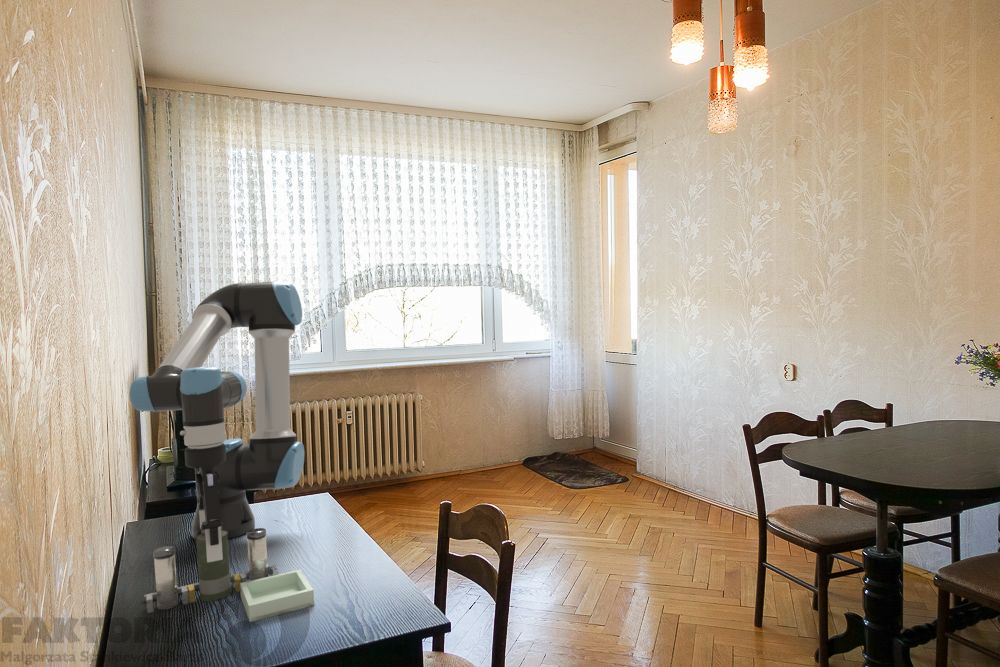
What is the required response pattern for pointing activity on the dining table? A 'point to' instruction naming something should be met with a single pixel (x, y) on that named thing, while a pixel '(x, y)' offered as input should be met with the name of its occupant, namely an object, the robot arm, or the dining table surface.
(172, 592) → the fuse rail
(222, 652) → the dining table surface
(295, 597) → the tray
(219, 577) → the grenade
